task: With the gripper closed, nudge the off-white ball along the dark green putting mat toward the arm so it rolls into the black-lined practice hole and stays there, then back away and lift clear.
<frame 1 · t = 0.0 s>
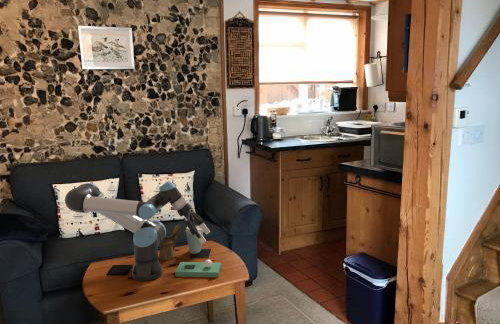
hand: (206, 237, 220), 15 cm above the table, tool tilted 35°, fingers open, 13 cm apart
ball: (208, 263, 213), point 4 cm above the table, touching putting mat
wooden mug: (170, 256, 235), on the table
disposable coffee cup: (195, 251, 241), on the table
putting mat: (199, 271, 214), on the table
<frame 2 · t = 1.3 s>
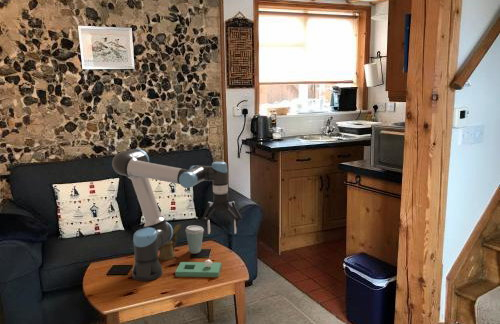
hand: (222, 233, 210), 21 cm above the table, tool pointing down, fingers open, 13 cm apart
nothing on the table moved.
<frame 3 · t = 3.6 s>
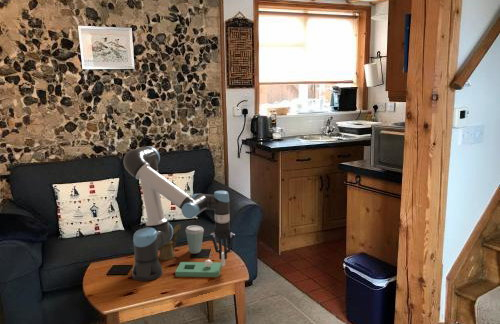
hand: (223, 264, 213), 4 cm above the table, tool pointing down, fingers closed
nothing on the table moved.
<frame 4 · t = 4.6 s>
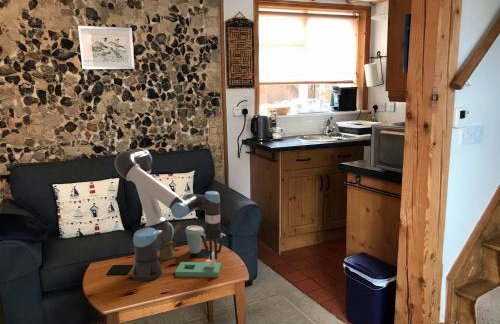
hand: (213, 265, 213), 4 cm above the table, tool pointing down, fingers closed
nothing on the table moved.
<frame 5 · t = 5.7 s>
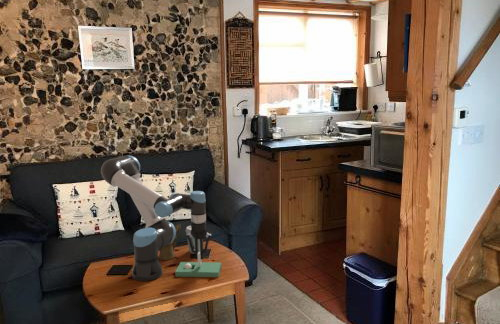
hand: (199, 264, 214), 4 cm above the table, tool pointing down, fingers closed
ball: (187, 267, 214), point 2 cm above the table, tilted 35°, touching putting mat
everything else where it was.
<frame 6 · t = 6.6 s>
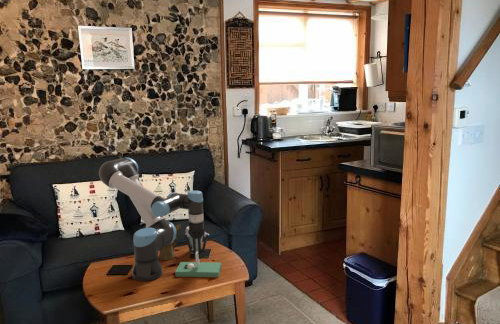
hand: (197, 264, 214), 4 cm above the table, tool pointing down, fingers closed
ball: (190, 267, 214), point 2 cm above the table, tilted 71°, touching putting mat
everything else where it was.
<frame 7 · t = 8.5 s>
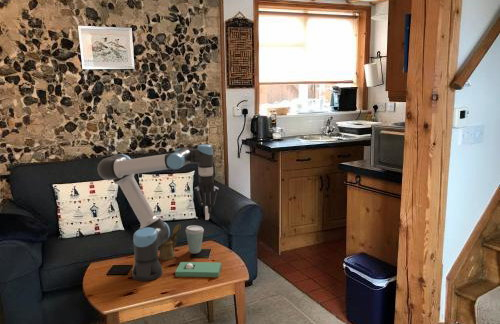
hand: (207, 218, 214), 27 cm above the table, tool pointing down, fingers closed
ball: (189, 267, 214), point 2 cm above the table, tilted 54°, touching putting mat
everything else where it was.
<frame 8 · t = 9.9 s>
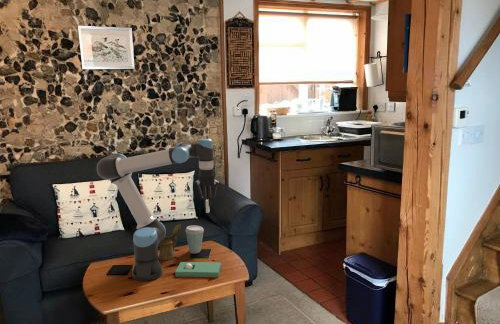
hand: (207, 212, 218), 29 cm above the table, tool pointing down, fingers closed
ball: (188, 267, 214), point 2 cm above the table, tilted 41°, touching putting mat
everything else where it was.
at the end: ball 0.4 cm from the target spot on the putting mat, point 2.3 cm above the putting mat's base; the gripper is holding nothing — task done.
